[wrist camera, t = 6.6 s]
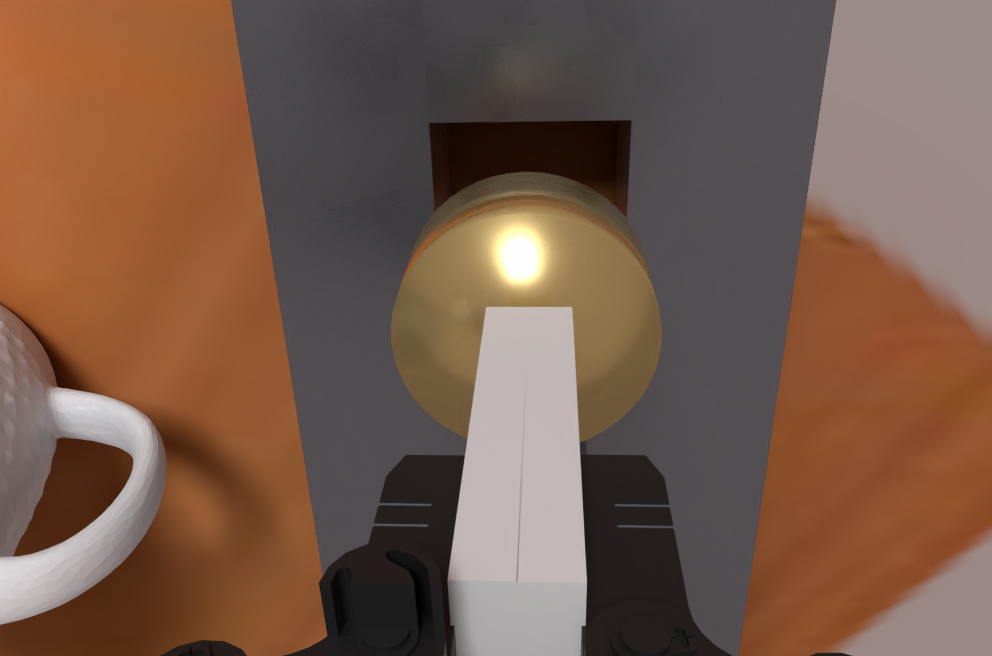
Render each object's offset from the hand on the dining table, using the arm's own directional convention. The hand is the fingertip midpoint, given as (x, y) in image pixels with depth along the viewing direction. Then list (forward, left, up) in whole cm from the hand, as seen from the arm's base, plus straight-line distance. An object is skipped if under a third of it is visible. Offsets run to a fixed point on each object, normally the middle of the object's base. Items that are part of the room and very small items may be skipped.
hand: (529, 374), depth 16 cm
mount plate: (0, -7, -12) cm, 14 cm away
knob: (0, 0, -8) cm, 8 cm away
